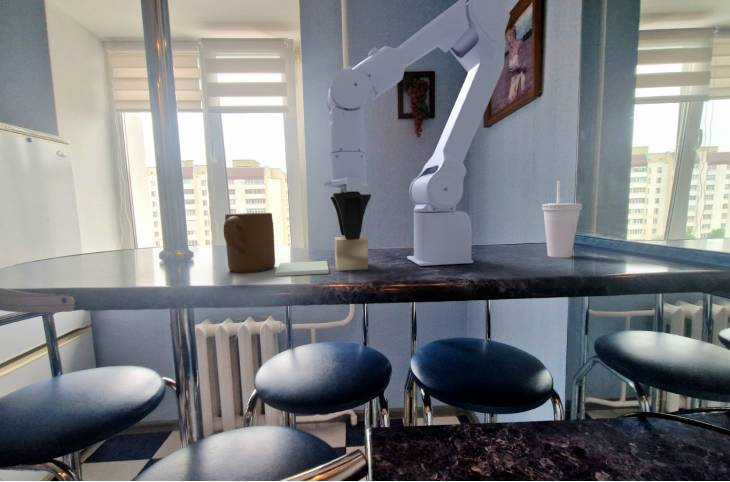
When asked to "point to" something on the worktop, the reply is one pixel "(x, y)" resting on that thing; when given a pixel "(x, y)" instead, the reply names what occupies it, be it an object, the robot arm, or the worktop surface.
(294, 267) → the coaster
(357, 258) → the oak block
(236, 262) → the mug
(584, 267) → the worktop surface
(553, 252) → the smoothie
